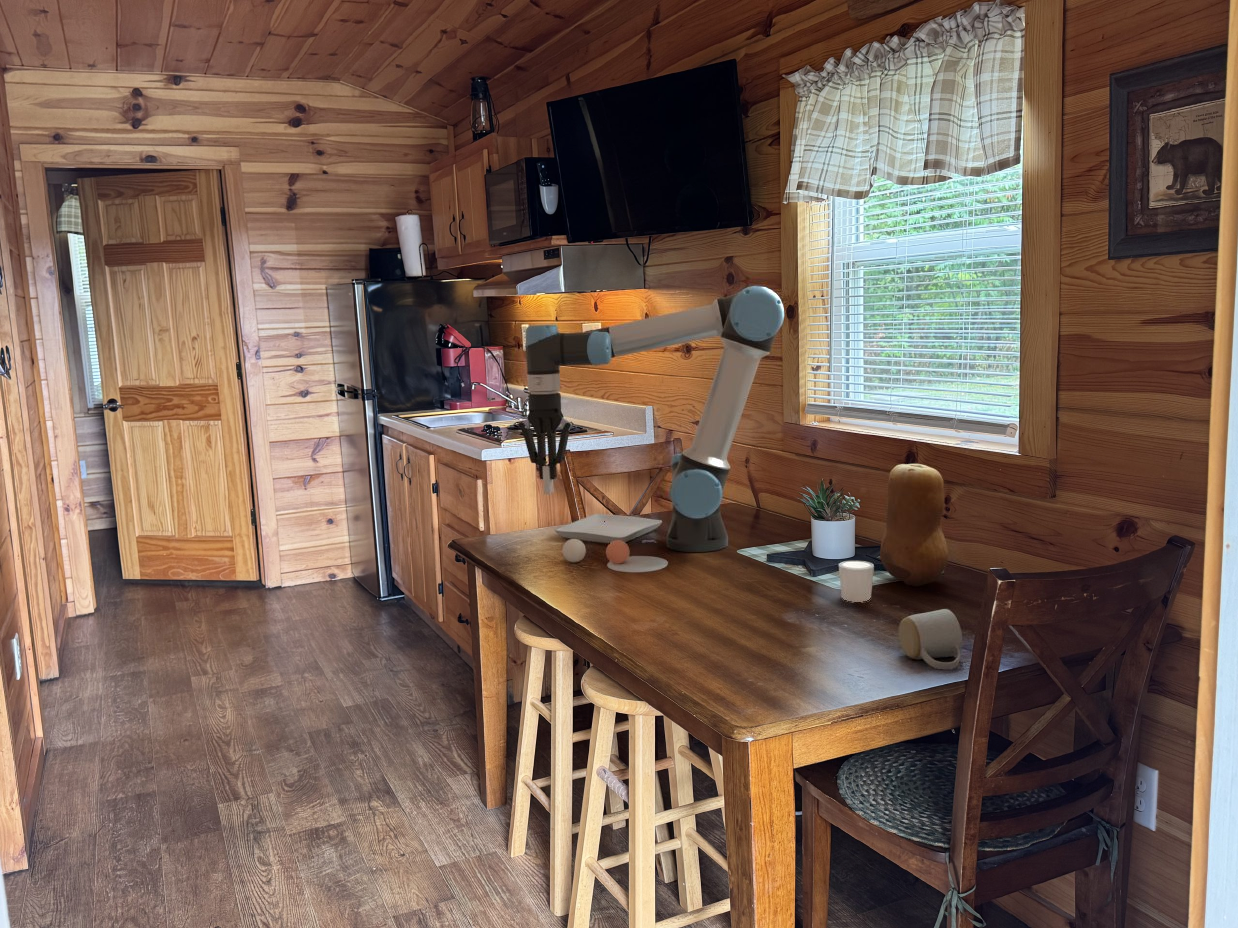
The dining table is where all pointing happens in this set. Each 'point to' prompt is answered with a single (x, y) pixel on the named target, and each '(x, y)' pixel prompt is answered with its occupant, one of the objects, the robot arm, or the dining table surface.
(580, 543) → the ivory ball
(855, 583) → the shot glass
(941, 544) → the butternut squash
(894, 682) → the dining table surface
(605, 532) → the salad plate
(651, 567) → the oval plate
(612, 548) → the coral ball
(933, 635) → the ceramic mug
